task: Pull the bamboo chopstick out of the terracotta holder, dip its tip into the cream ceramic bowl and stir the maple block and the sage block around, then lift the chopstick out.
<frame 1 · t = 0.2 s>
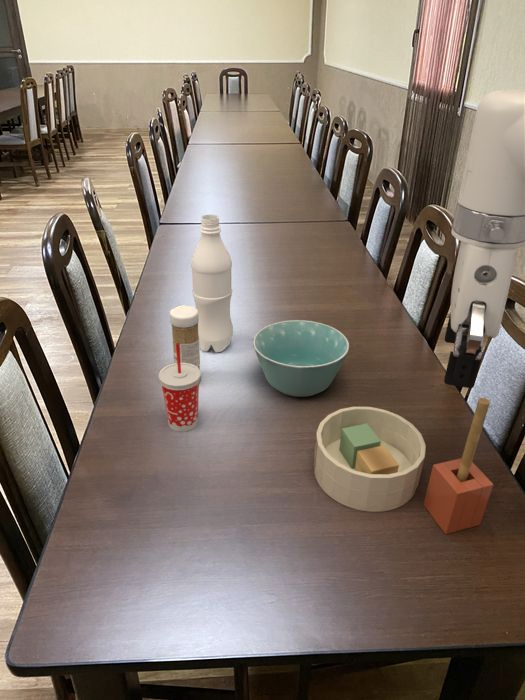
hand: (457, 362, 64), 19 cm above the table, tool pointing down, fingers open, 9 cm apart
sage block: (357, 456, 76), point 1 cm above the table, touching stir bowl
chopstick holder: (451, 514, 68), on the table
maple block: (374, 480, 72), point 1 cm above the table, touching stir bowl
water bottle: (214, 346, 103), on the table
stir bowl: (365, 472, 74), on the table
beverage cup: (183, 423, 83), on the table
sprinkles bottle: (188, 381, 93), on the table
bowl: (298, 383, 93), on the table
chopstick: (466, 461, 64), in the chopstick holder
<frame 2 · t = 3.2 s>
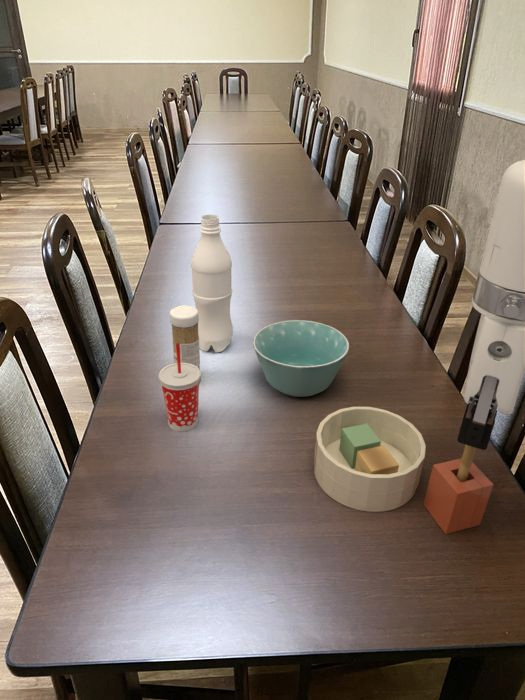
hand: (473, 439, 62), 13 cm above the table, tool pointing down, fingers closed on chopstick, 1 cm apart
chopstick: (466, 461, 64), in the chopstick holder, touching gripper
everything else where it was.
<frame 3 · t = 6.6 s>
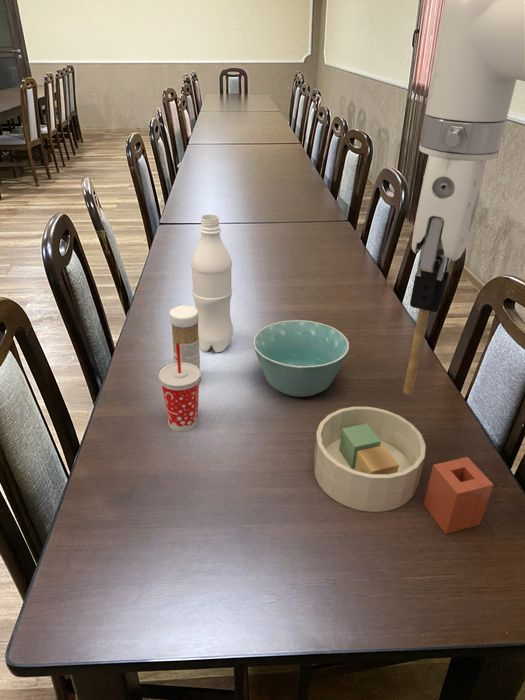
hand: (425, 304, 62), 25 cm above the table, tool pointing down, fingers closed on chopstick, 1 cm apart
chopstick: (420, 330, 64), point 22 cm above the table, touching gripper
everything else where it was.
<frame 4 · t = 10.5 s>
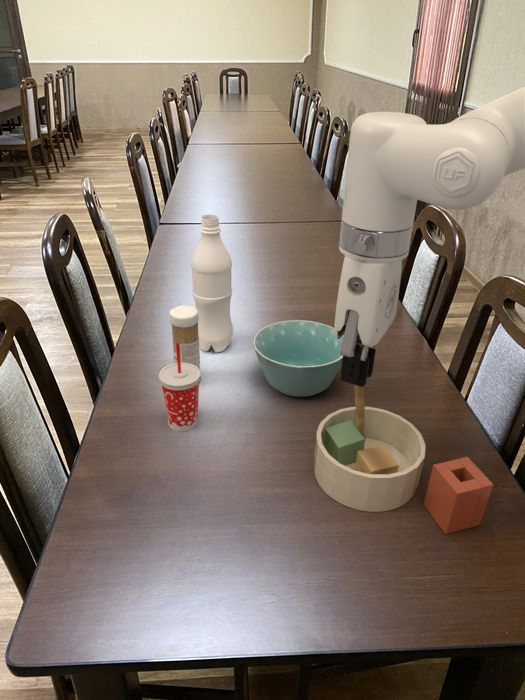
hand: (356, 377, 68), 15 cm above the table, tool pointing down, fingers closed on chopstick, 1 cm apart
sage block: (343, 453, 76), point 1 cm above the table, tilted 6°, touching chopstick, stir bowl
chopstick: (359, 394, 70), in the stir bowl, point 12 cm above the table, tilted 13°, touching gripper, sage block
everything else where it was.
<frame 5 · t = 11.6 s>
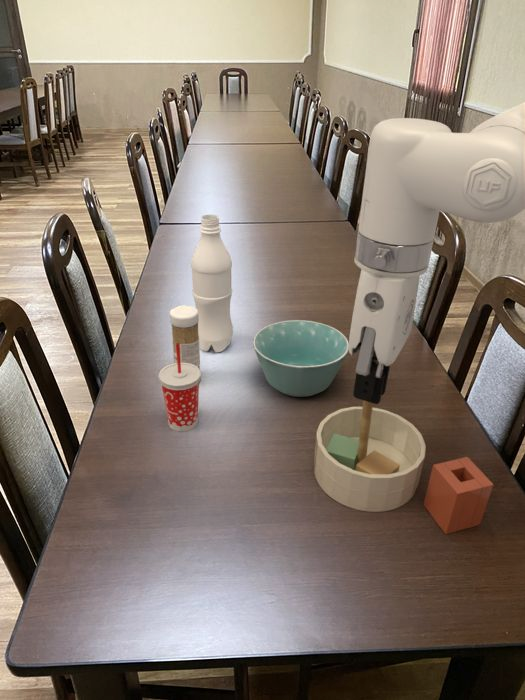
hand: (369, 394, 65), 15 cm above the table, tool pointing down, fingers closed on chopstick, 1 cm apart
sage block: (341, 467, 74), point 1 cm above the table, touching stir bowl
maple block: (374, 487, 71), point 1 cm above the table, touching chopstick, stir bowl
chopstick: (366, 414, 66), in the stir bowl, point 12 cm above the table, touching gripper, maple block
everything else where it was.
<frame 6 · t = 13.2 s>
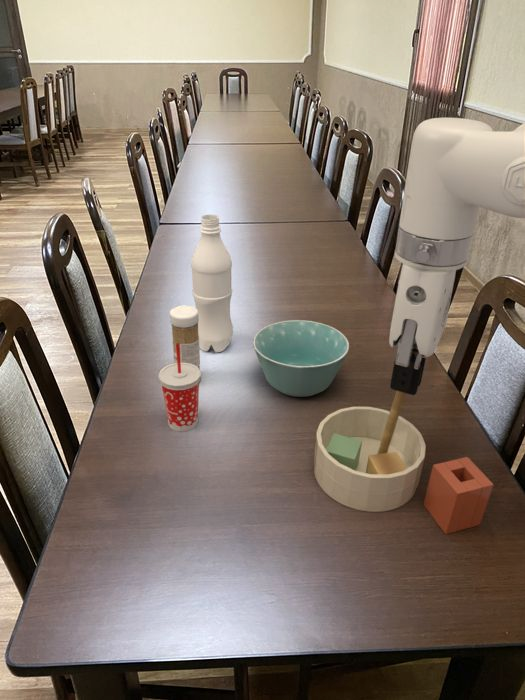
hand: (405, 386, 67), 15 cm above the table, tool pointing down, fingers closed on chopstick, 1 cm apart
maple block: (384, 486, 71), point 1 cm above the table, touching stir bowl
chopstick: (396, 406, 68), in the stir bowl, point 12 cm above the table, tilted 5°, touching gripper
everything else where it was.
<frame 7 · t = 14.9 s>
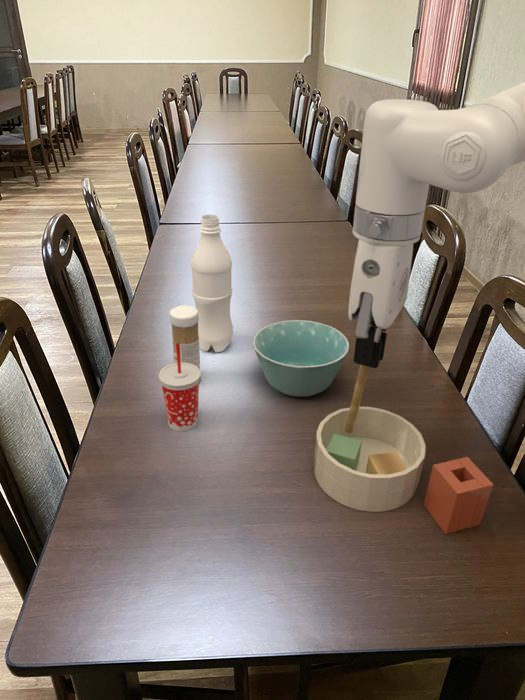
hand: (368, 360, 69), 16 cm above the table, tool pointing down, fingers closed on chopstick, 1 cm apart
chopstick: (361, 380, 71), in the stir bowl, point 13 cm above the table, touching gripper
everything else where it was.
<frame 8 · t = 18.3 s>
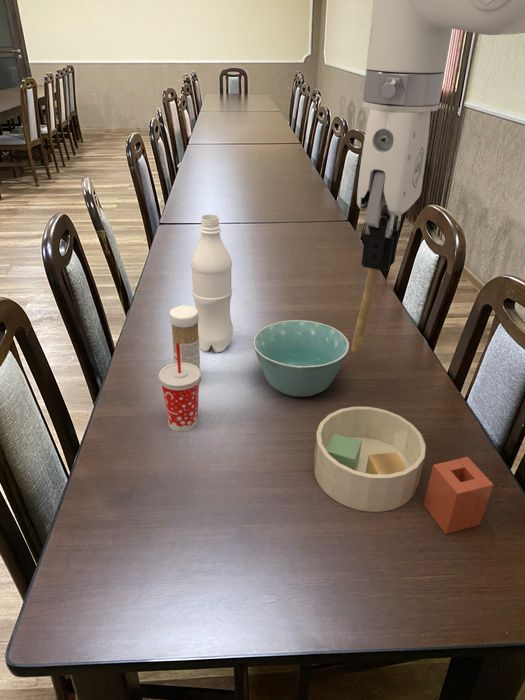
hand: (377, 264, 63), 29 cm above the table, tool pointing down, fingers closed on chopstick, 1 cm apart
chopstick: (369, 288, 65), point 26 cm above the table, tilted 5°, touching gripper
everything else where it was.
at the end: maple block moved 1.6 cm from its start; maple block inside the target area in the stir bowl (3.9 cm from its centre), point 0.8 cm above the stir bowl's base; sage block inside the target area in the stir bowl (3.4 cm from its centre), point 0.8 cm above the stir bowl's base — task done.
